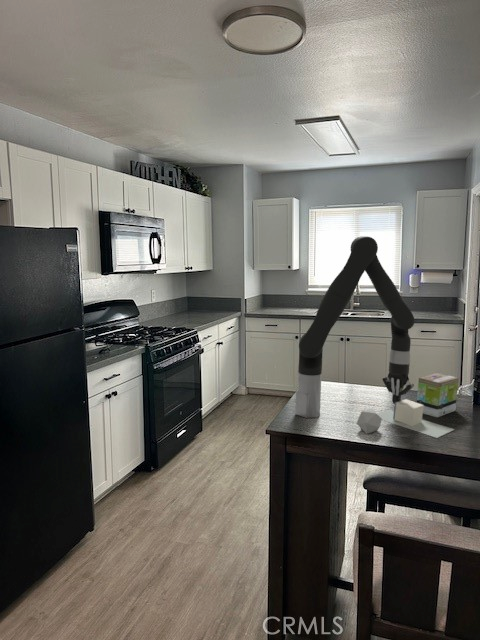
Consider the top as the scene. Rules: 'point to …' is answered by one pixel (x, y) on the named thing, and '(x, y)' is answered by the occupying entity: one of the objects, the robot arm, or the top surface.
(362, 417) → the die
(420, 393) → the tea box
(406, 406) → the cream block
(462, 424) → the top surface
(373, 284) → the robot arm
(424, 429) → the mat
